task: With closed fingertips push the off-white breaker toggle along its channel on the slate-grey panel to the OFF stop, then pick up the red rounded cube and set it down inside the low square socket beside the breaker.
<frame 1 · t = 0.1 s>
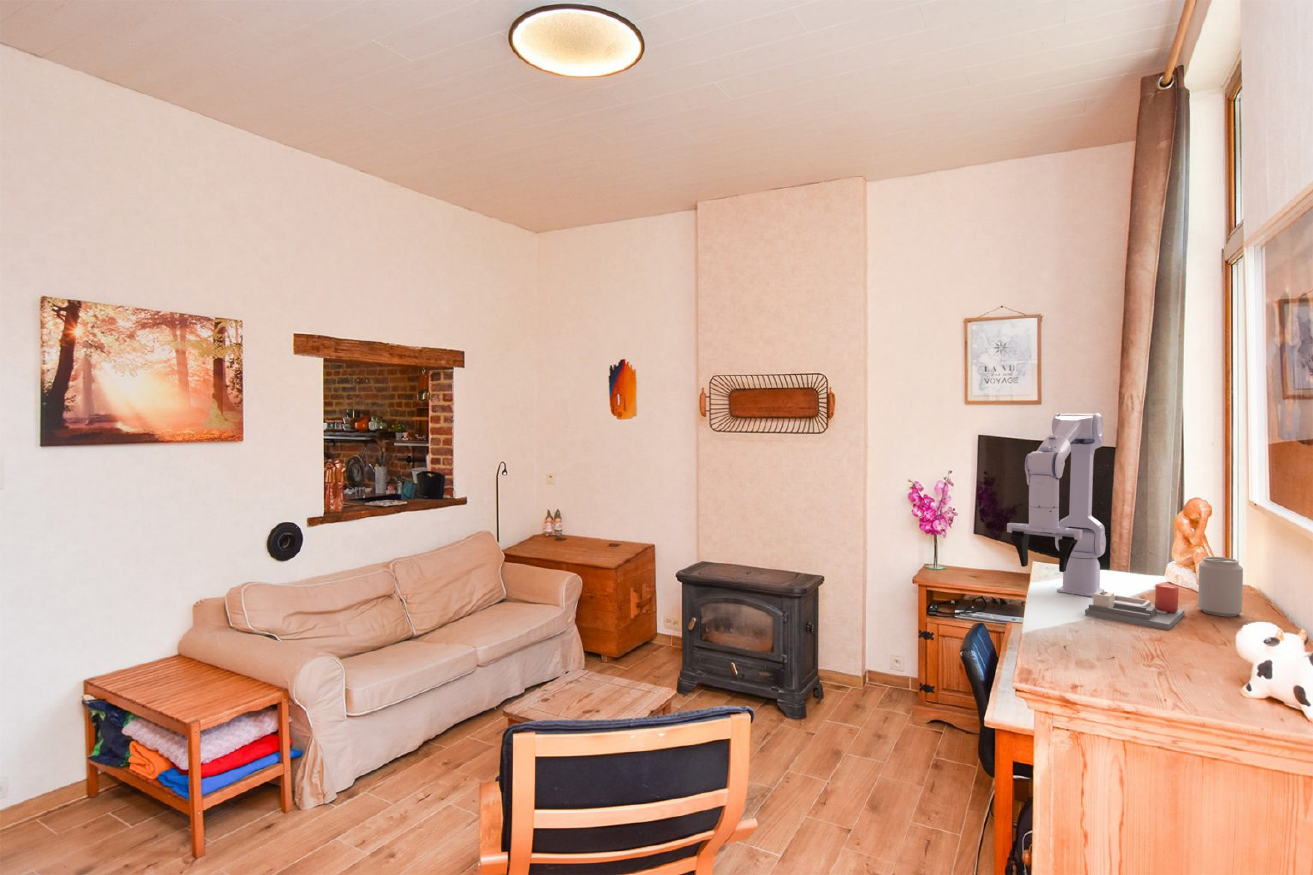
hand: (1043, 568, 154), 10 cm above the table, fingers open, 7 cm apart
red rounded cube: (1166, 609, 151), point 2 cm above the table, touching panel
breaker: (1103, 599, 153), point 3 cm above the table, slide at 0.0 cm
panel: (1134, 615, 152), on the table
can: (1219, 613, 154), on the table
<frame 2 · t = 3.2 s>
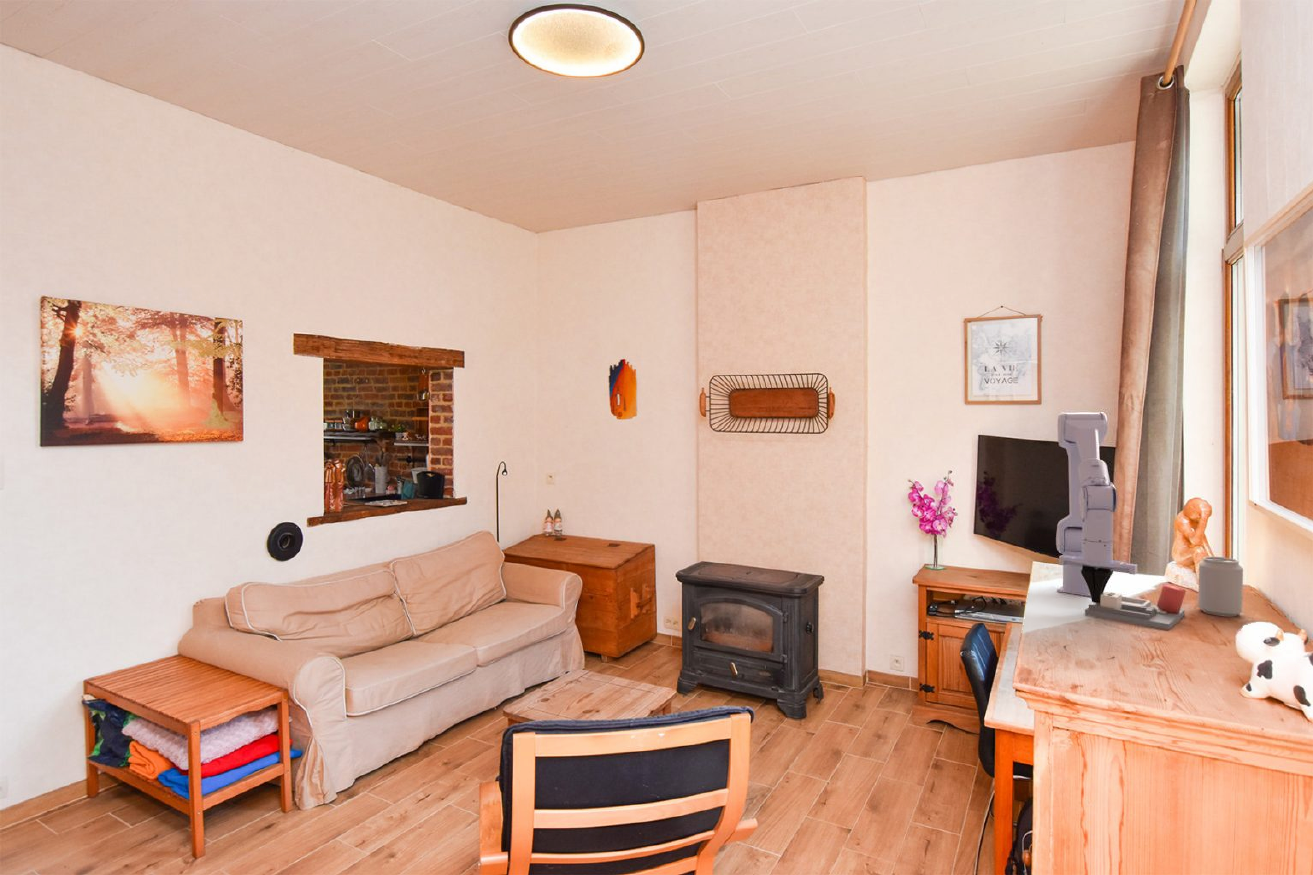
hand: (1096, 601, 154), 2 cm above the table, fingers closed
red rounded cube: (1167, 609, 151), point 2 cm above the table, tilted 13°, touching panel
breaker: (1111, 600, 152), point 3 cm above the table, slide at 1.4 cm, touching gripper
everything else where it was.
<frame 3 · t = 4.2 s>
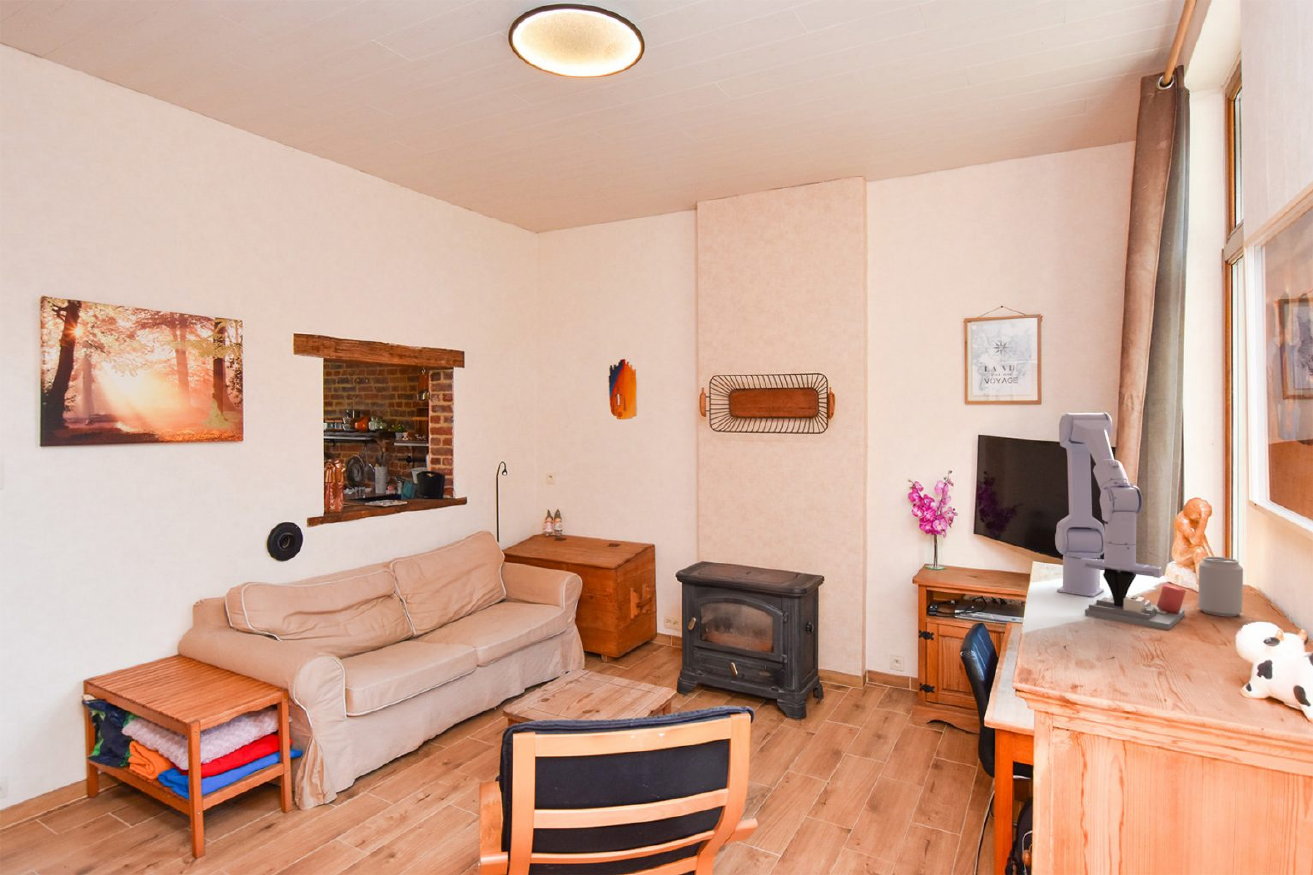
hand: (1119, 605, 151), 2 cm above the table, fingers closed
breaker: (1134, 604, 149), point 3 cm above the table, slide at 5.7 cm, touching gripper
everything else where it was.
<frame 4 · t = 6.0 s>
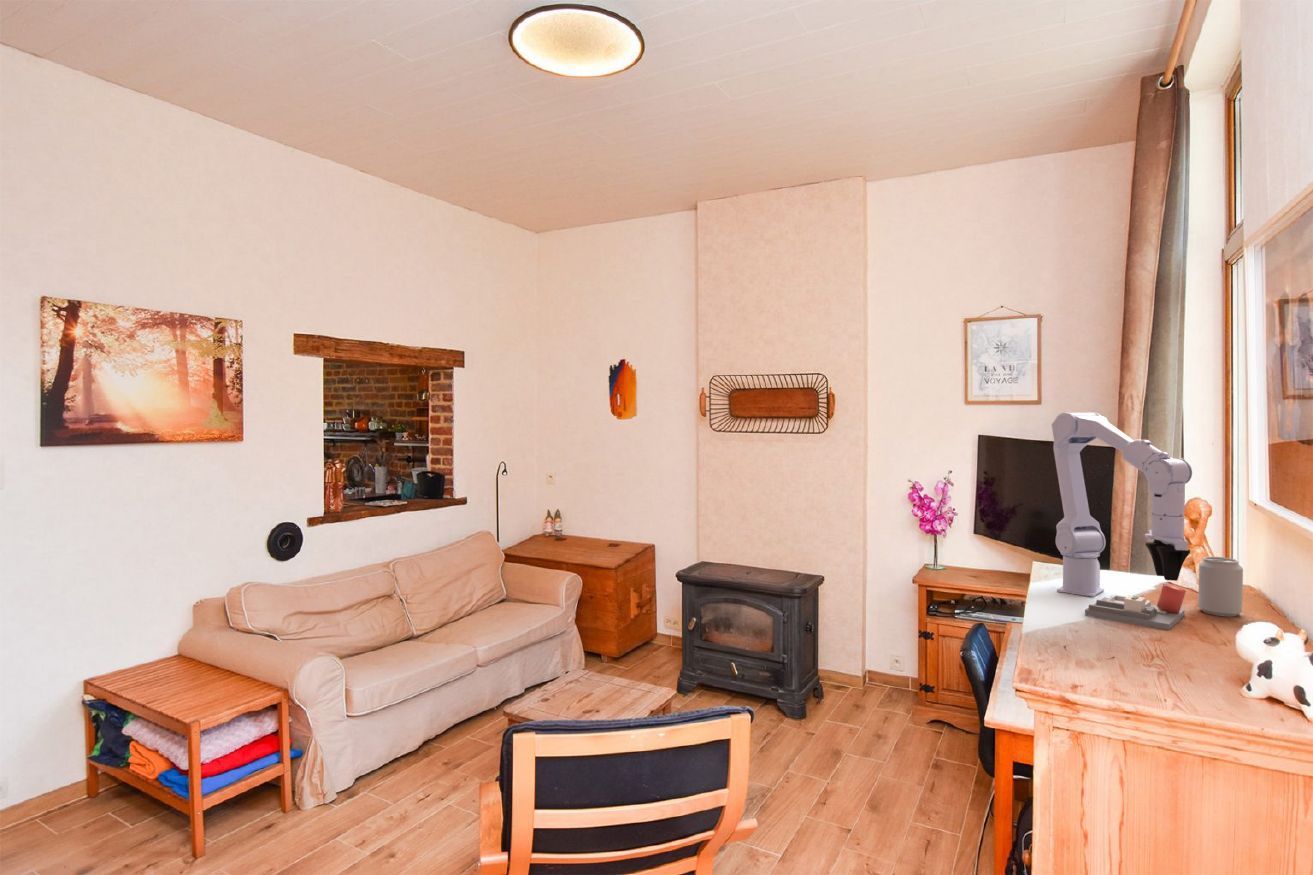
hand: (1166, 577, 151), 8 cm above the table, fingers open, 4 cm apart
breaker: (1134, 604, 149), point 3 cm above the table, slide at 5.8 cm
everything else where it was.
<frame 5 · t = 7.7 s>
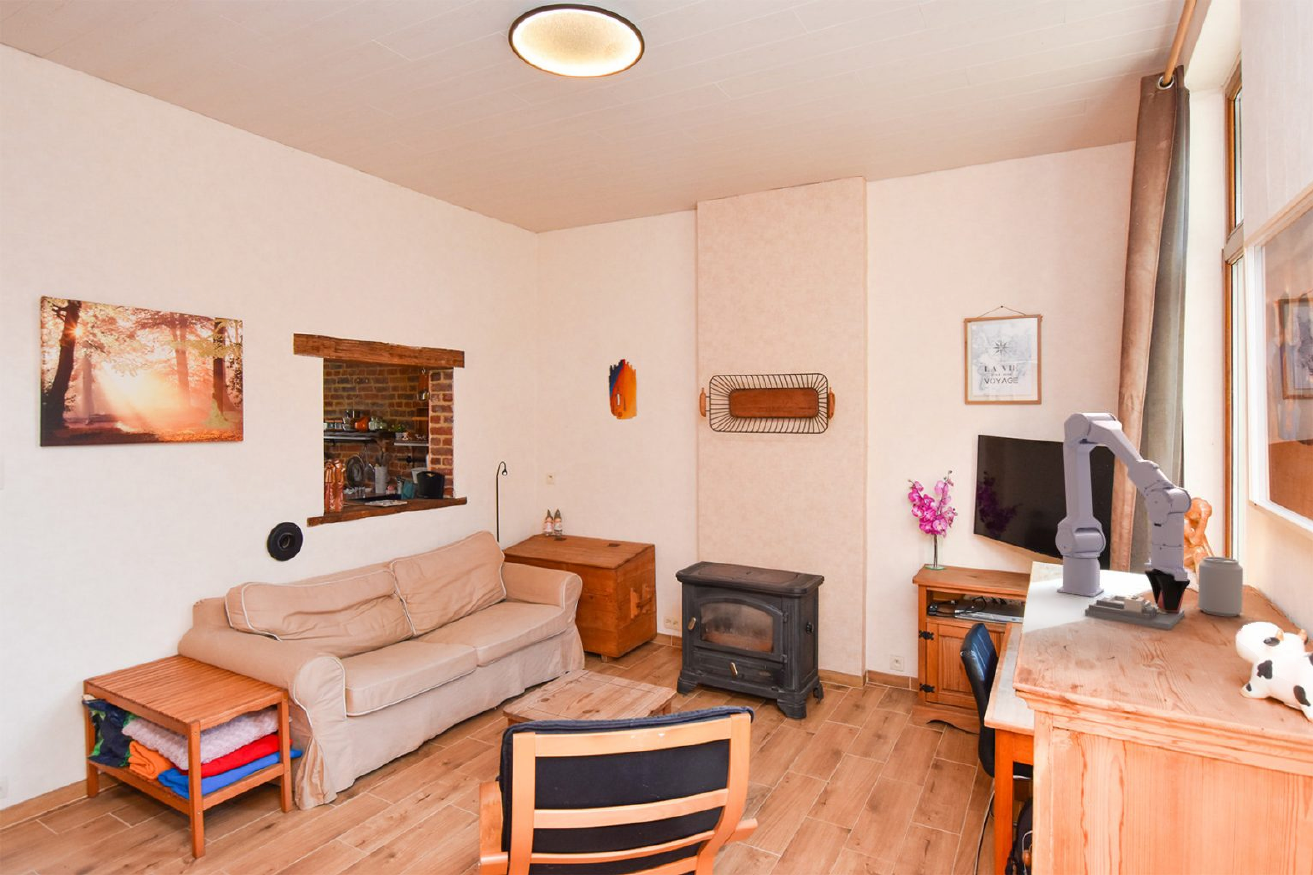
hand: (1166, 607, 151), 2 cm above the table, fingers closed on red rounded cube, 4 cm apart
red rounded cube: (1168, 609, 151), point 2 cm above the table, tilted 11°, touching gripper
everything else where it was.
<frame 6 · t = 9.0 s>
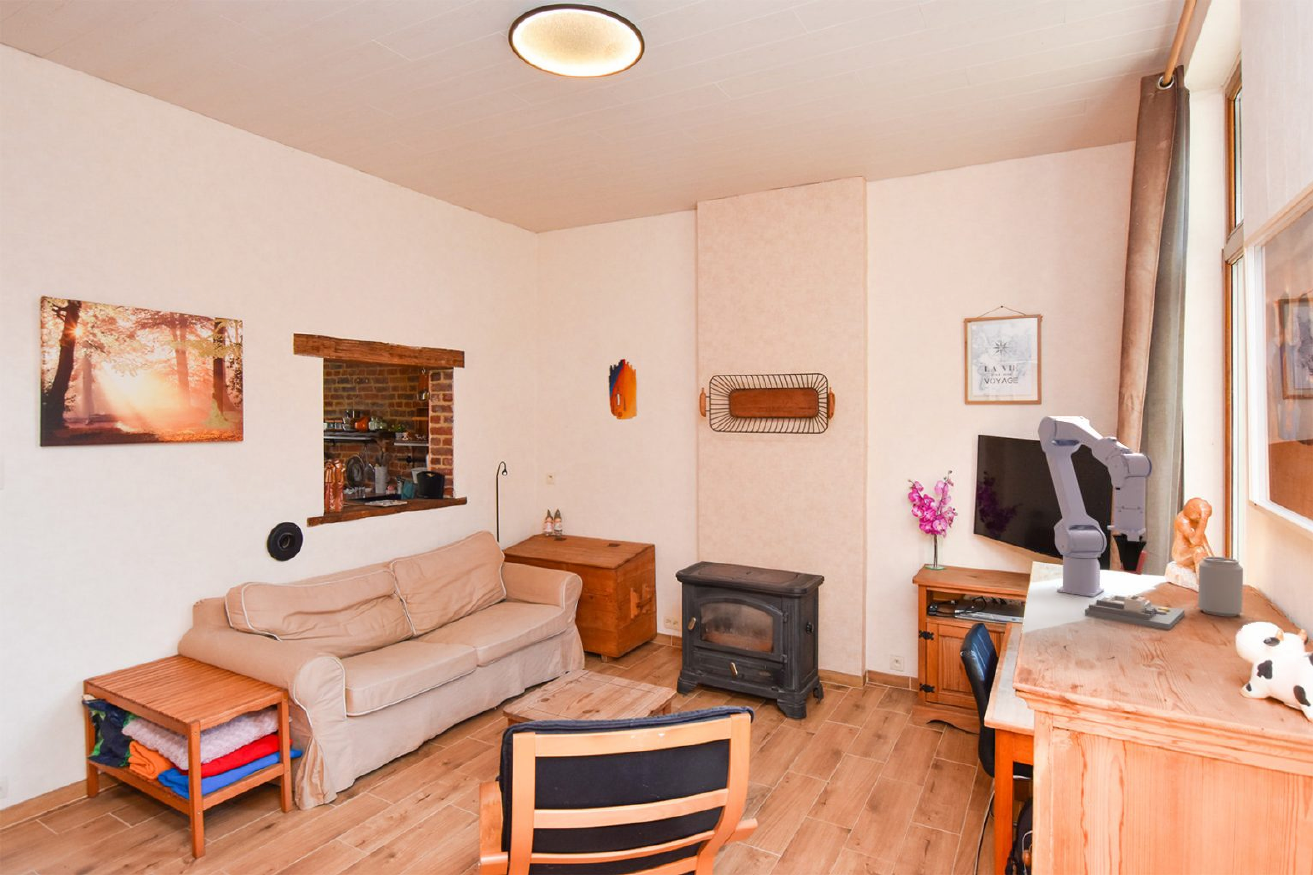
hand: (1128, 568, 156), 9 cm above the table, fingers closed on red rounded cube, 4 cm apart
red rounded cube: (1130, 571, 156), point 9 cm above the table, tilted 12°, touching gripper
everything else where it was.
when the fingers open (4 cm above the table, at t = 10.4 s): red rounded cube drops 2 cm, resting on panel.
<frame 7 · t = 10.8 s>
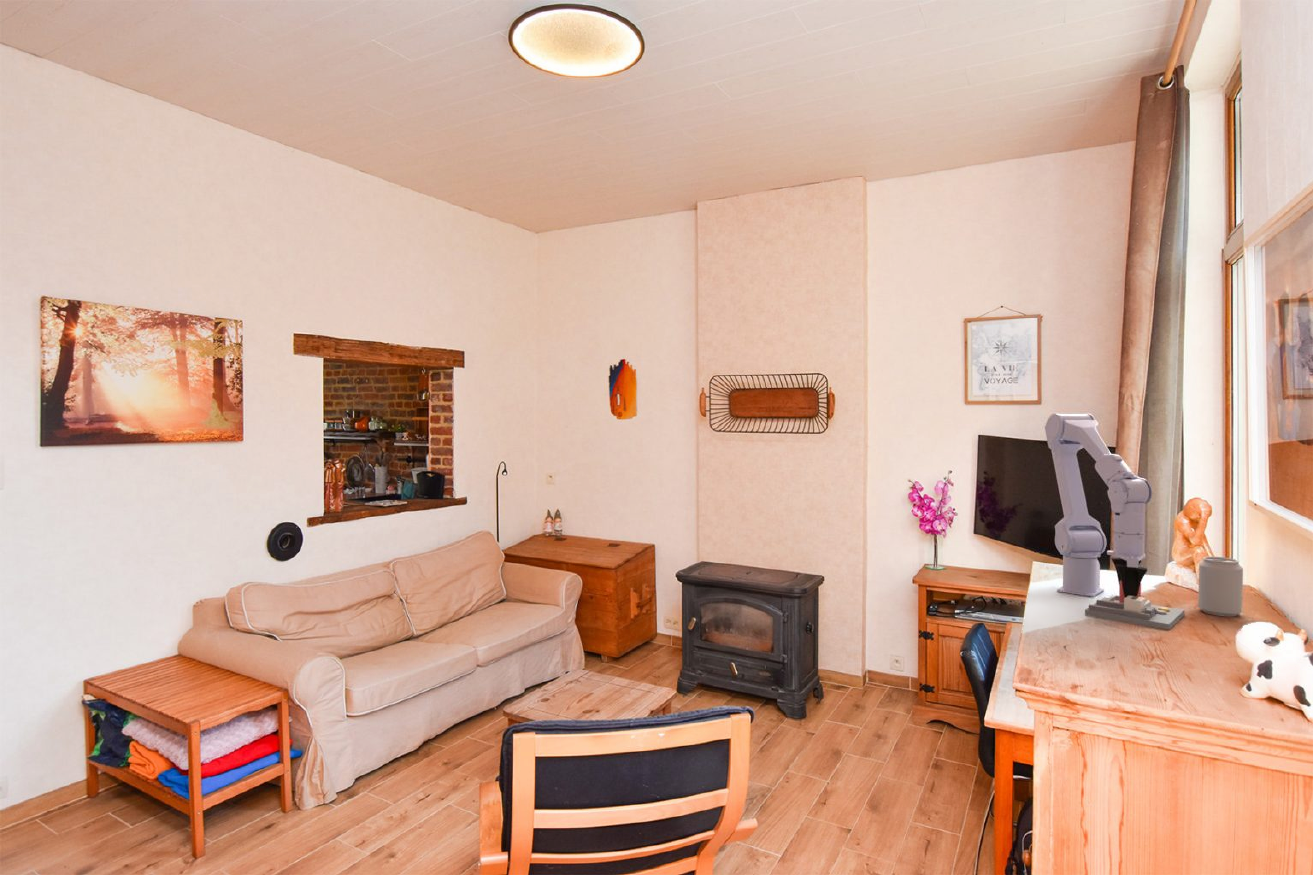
hand: (1128, 593, 156), 4 cm above the table, fingers open, 7 cm apart
red rounded cube: (1129, 604, 156), point 1 cm above the table, touching panel
everything else where it was.
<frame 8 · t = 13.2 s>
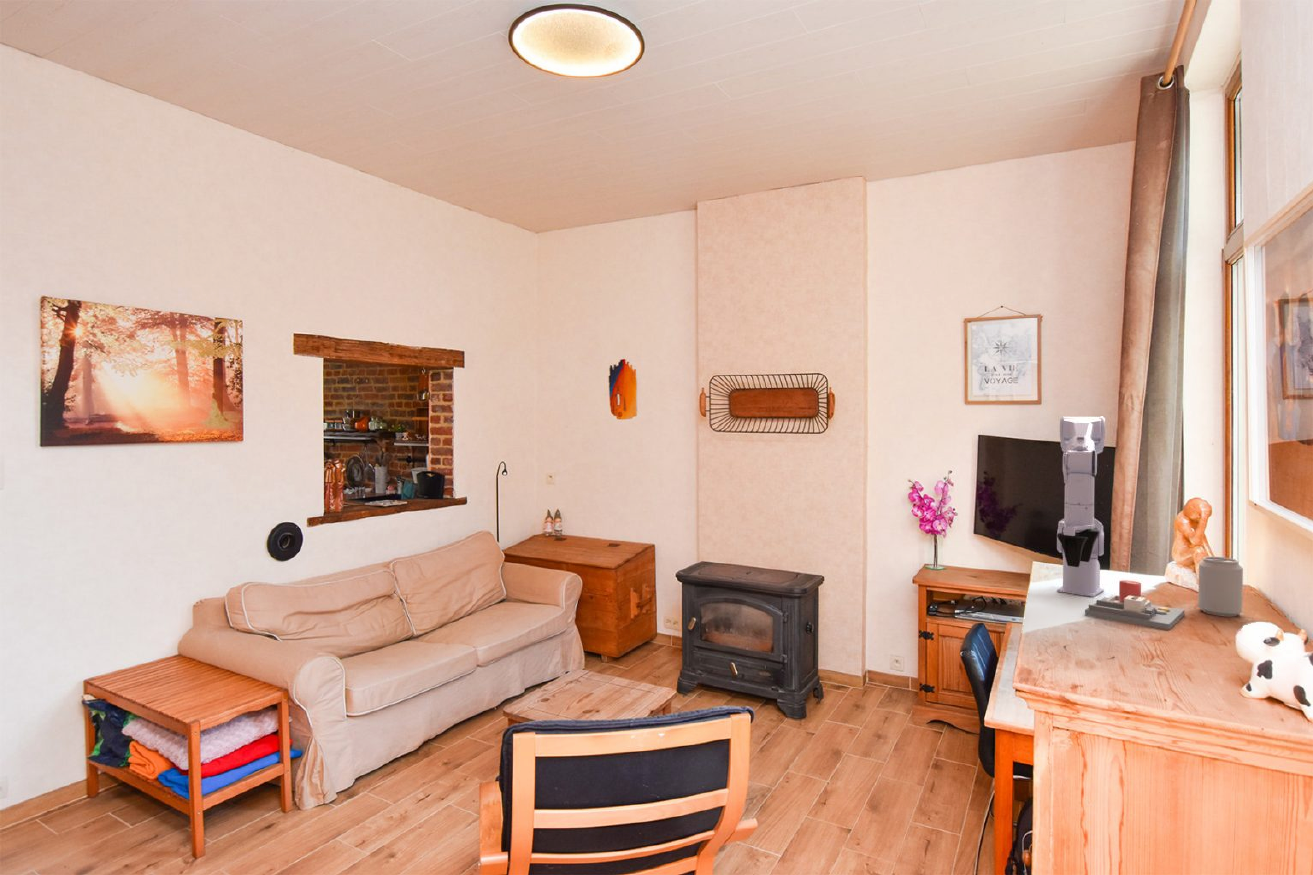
hand: (1078, 563, 159), 10 cm above the table, fingers open, 7 cm apart
nothing on the table moved.
at the end: breaker slide at 5.8 cm; red rounded cube 0.3 cm from the target spot, point 1.3 cm above the table; red rounded cube tilted 0° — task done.
